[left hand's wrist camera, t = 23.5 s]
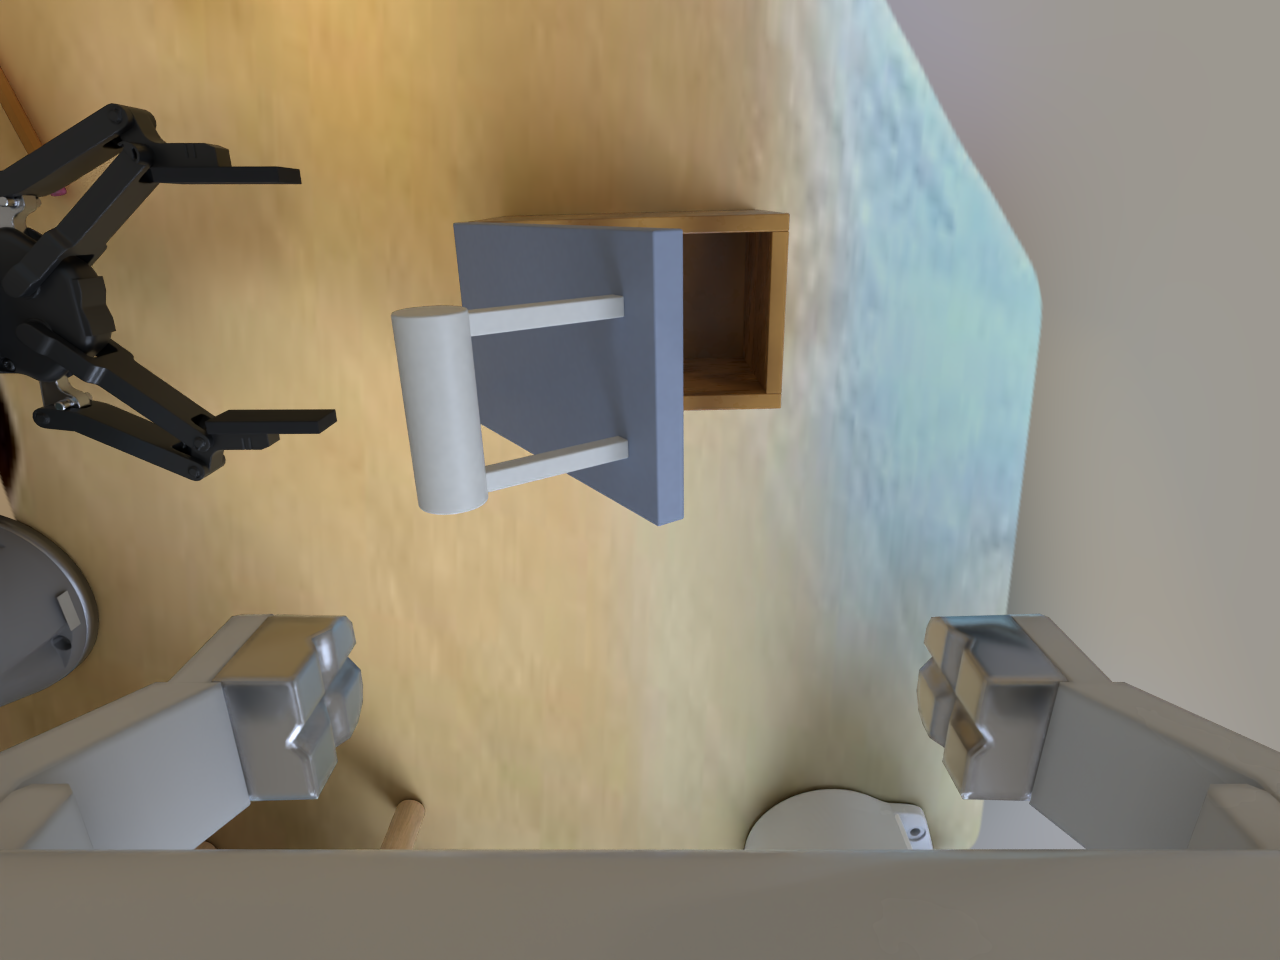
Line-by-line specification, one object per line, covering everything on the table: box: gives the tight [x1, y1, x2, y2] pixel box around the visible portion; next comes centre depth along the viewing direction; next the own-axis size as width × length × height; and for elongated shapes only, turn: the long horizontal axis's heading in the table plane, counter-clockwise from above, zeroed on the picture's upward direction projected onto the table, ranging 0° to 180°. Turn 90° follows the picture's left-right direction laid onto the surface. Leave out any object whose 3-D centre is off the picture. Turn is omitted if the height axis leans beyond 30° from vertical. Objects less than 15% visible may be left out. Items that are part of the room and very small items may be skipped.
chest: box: [471, 210, 790, 411], centre depth 43 cm, size 16×10×11 cm, turn 91°
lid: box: [391, 222, 684, 526], centre depth 29 cm, size 17×10×9 cm
